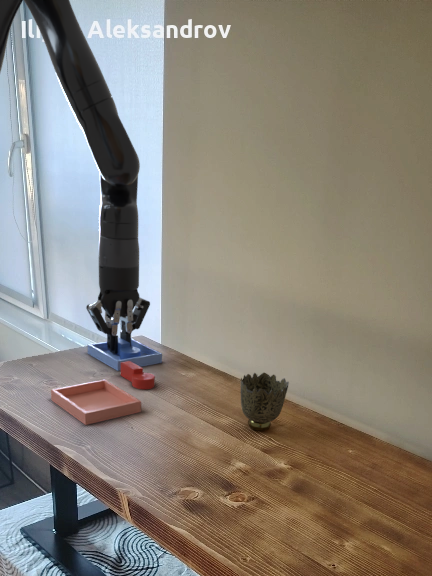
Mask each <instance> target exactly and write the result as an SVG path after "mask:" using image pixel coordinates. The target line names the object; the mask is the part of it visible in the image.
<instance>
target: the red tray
mask: <svg viewBox="0 0 432 576" xmlns="http://www.w3.org/2000/svg"><path fill="white" fill-rule="evenodd" d="M50 399H51V400H50V401H51V402H53V403H55V404H56V405H57V406H59V407H60V408H61V409H63V410H64V411H66V412H67V414H70V416H73V417H74V418H75V419H77V420H78V421H79V422H81V423H82V424H83V425H85V426H88V425H92V424H95V423H100V422H103V421H109V420H113V419H117V418H122V417H125V416H129V415H130V416H131V415H134V414H138V413H142V400H140V399H139V398H137V397H135V396H134V395H131V394H130V393H128V392H127V391H125V390H124V389H122V388H120V387H118V386H117V385H116V384H114V383H112V382H111V381H109V380H107V379H105V378H104V379H98V380H94V381H89V382H84V383H78V384H73V385H68V386H63V387H58V388H52V389H50Z"/></svg>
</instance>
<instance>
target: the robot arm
mask: <svg viewBox="0 0 432 576" xmlns="http://www.w3.org/2000/svg"><path fill="white" fill-rule="evenodd" d="M23 2H24V4H25V5H26V7H27V8H28V10H29V12H30V14H31V15H32V17H33V20H34V22H35V24H36V26H37V28H38V30H39V33H40V34H41V38H42V40H43V42H44V44H45V47H46V50H47V53H48V55H49V58H50V62H51V64H52V67H53V69H54V72H55V75H56V77H57V80H58V82H59V85H60V87H61V89H62V92H63V94H64V96H65V99H66V101H67V102H68V105H69V107H70V110H71V111H72V113H73V115H74V117H75V119H76V122H77V123H78V125H79V128H80V129H81V130H82V132H83V134H84V137H85V139H86V142H87V145H88V148H89V150H90V152H91V155H92V157H93V160H94V162H95V164H96V167H97V169H98V171H99V185H100V186H99V187H100V205H99V215H98V216H99V217H98V220H99V221H98V223H99V226H98V227H99V229H98V231H99V240H98V249H97V250H98V286H99V293H98V295H97V300H96V301H95V302H94V303H92V304H91V303H88V304H87V305H86V307H85V308H86V310H87V312H88V314H89V316H90V318H91V320H92V322H93V323H94V325H95V327H96V329H97V331H99V332H102V333H103V334H105V335H106V342H107V348H108V350H109V351H110V352H111V353H113V354H117V353H118V337H119V338H121V339H123V340H125V341H127V342H129V343H130V347H131V338H132V333H133V331H135V330H139V329H140V328H141V326H142V324H143V321H144V319H145V317H146V315H147V313H148V310H149V308H150V306H151V301H149V300H147V299H144V298H142V297H140V293H139V292H138V290H139V287H140V244H139V210H138V186H139V173H140V167H141V163H140V159H139V155H138V153H137V151H136V149H135V147H134V144H133V143H132V140H131V139H130V136H129V134H128V132H127V130H126V128H125V126H124V124H123V122H122V120H121V118H120V116H119V112H118V109H117V105H116V103H115V100H114V98H113V95H112V92H111V90H110V88H109V86H108V84H107V81H106V79H105V77H104V74H103V71H102V70H101V67H100V66H99V63H98V61H97V59H96V57H95V55H94V53H93V51H92V48H91V46H90V44H89V43H88V40H87V39H86V36H85V34H84V32H83V29H82V27H81V25H80V23H79V21H78V19H77V16H76V14H75V12H74V9H73V7H72V4H71V1H70V0H0V74H1V73H2V69H3V65H4V59H5V56H6V50H7V45H8V40H9V35H10V31H11V28H12V26H13V23H14V20H15V18H16V16H17V13H18V11H19V9H20V8H21V5H22V3H23ZM103 311H104V317H103V315H102V314H103ZM119 324H120V325H119ZM119 326H120V330H121V331H120V332H119V335H118V331H119V330H118V327H119Z"/></svg>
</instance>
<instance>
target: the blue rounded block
mask: <svg viewBox="0 0 432 576" xmlns="http://www.w3.org/2000/svg"><path fill="white" fill-rule="evenodd" d="M117 355H119V356H120V359H121V360H122V359H128V358H133V357H139V356H141V350H140V349H139V348H136V347H130V343H129V342H127V341H125V340H123V339H121V338H120V336H118V353H117Z"/></svg>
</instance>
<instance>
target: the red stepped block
mask: <svg viewBox="0 0 432 576" xmlns="http://www.w3.org/2000/svg"><path fill="white" fill-rule="evenodd" d="M120 377H121V378H123V379H125V380H127V381H129V382H130V383H131V386H132V387H133V388H135V389H138V390H151V389H153V388H155V382H156V381H155V380H156V379H155V378H156V376H155V374H153V373H151V372H145V371H144V367H143V366H142V367H140V366H138V365H136V364H135V363H133V362H131V361H126V362H121V370H120Z"/></svg>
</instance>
